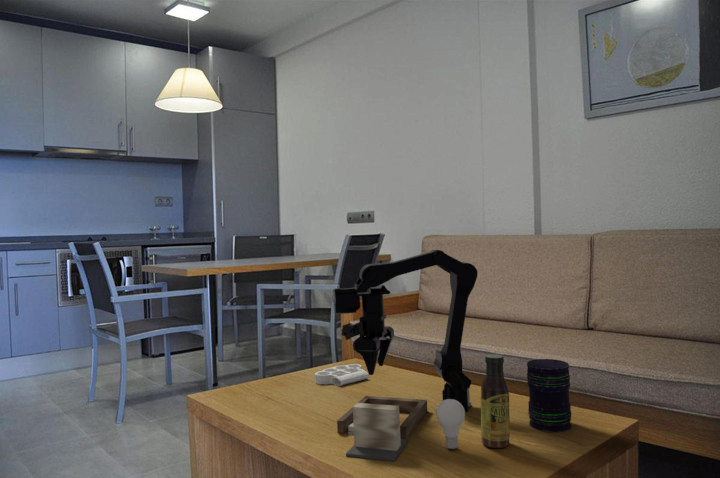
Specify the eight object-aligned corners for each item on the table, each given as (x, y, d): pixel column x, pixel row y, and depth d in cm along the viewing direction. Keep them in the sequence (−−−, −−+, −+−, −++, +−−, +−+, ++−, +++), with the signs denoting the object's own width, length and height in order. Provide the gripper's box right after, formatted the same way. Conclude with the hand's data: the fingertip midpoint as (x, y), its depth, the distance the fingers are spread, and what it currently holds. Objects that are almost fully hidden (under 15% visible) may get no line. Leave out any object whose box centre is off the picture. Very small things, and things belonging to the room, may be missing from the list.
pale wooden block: (400, 445, 125) (399, 405, 124) (397, 450, 122) (395, 410, 122) (359, 441, 128) (357, 402, 128) (354, 446, 125) (352, 406, 125)
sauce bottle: (493, 452, 120) (489, 360, 120) (475, 442, 126) (472, 355, 126) (517, 446, 123) (513, 356, 123) (499, 436, 129) (495, 351, 128)
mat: (408, 441, 128) (407, 439, 128) (394, 461, 118) (394, 458, 118) (363, 437, 132) (363, 435, 132) (346, 456, 122) (345, 453, 122)
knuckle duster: (332, 390, 174) (307, 381, 185) (376, 378, 185) (350, 371, 196) (332, 379, 174) (306, 371, 185) (376, 368, 185) (349, 361, 196)
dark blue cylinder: (553, 435, 128) (550, 371, 128) (520, 424, 136) (517, 363, 136) (580, 426, 133) (578, 364, 133) (547, 415, 142) (544, 356, 141)
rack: (427, 411, 149) (426, 399, 149) (406, 439, 130) (406, 426, 130) (366, 406, 155) (365, 395, 155) (337, 432, 136) (337, 420, 136)
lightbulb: (471, 452, 121) (469, 401, 121) (445, 456, 119) (442, 405, 119) (458, 441, 127) (456, 393, 127) (433, 445, 125) (430, 397, 125)
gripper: (355, 306, 159) (358, 361, 159) (332, 317, 141) (335, 378, 141) (393, 306, 155) (396, 361, 156) (374, 317, 138) (377, 380, 138)
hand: (376, 370), depth 148 cm, fingers open, 9 cm apart
